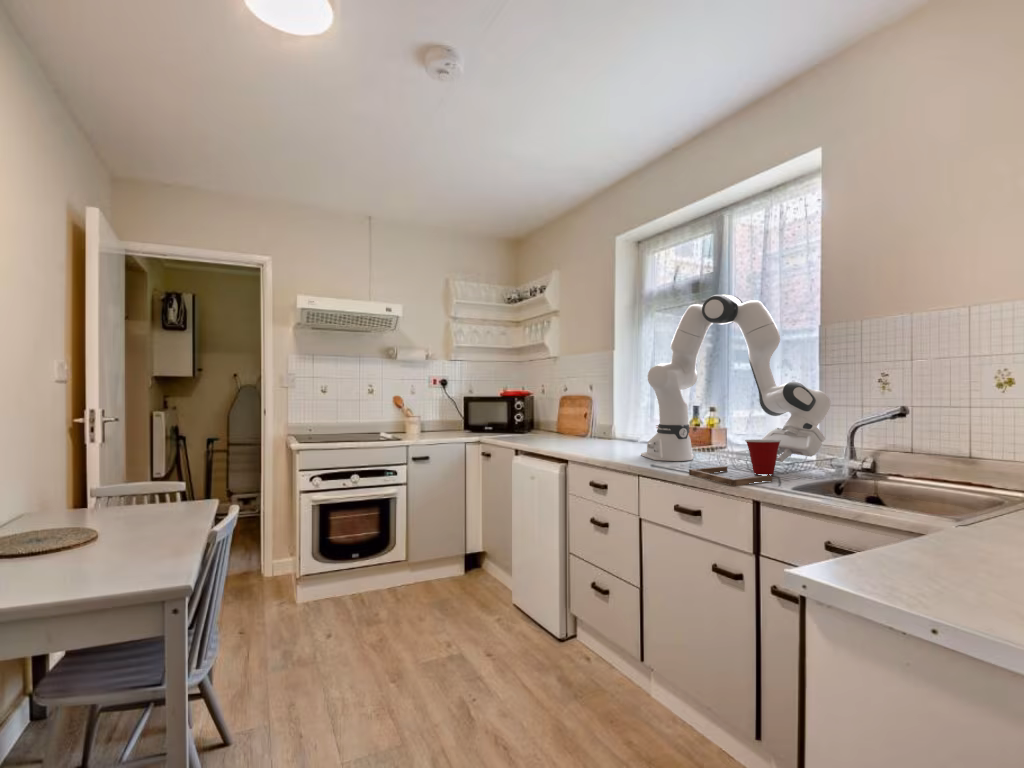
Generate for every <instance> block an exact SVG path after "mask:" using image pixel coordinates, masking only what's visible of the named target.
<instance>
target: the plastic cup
mask: <svg viewBox="0 0 1024 768" xmlns="http://www.w3.org/2000/svg"><path fill="white" fill-rule="evenodd" d="M744 441H745V443H746V445H747V449H748V453H749V457H750V461H751V466H752V471H753V474H754V473H756V474H768V475H769V474H773V475H774V473H775V467H776V463H777V461H776V458H777V452H778V447H779V444H780V442H781V440H761V439H745V440H744Z"/></svg>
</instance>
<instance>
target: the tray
mask: <svg viewBox="0 0 1024 768" xmlns="http://www.w3.org/2000/svg"><path fill="white" fill-rule="evenodd" d="M720 471H727V472H728V466H725V465H724V466H723V465H722V466H713V467H712V466H711V467H704V468H703V467H700V468H692V469H688V475H689V476H693V477H696V478H700V479H704V480H708V481H712V482H716V483H720V484H725V485H729V486H733V487H737V486H746V485H745V484H747V485H750V484H749V483H754V482H762V481H772V482H773V476H770V475H767V476H759V475H756V476H750V477H741V478H730V477H727V476H724V475H718V474H715V473H714V472H720ZM710 473H711V474H710Z"/></svg>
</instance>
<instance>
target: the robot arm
mask: <svg viewBox="0 0 1024 768" xmlns="http://www.w3.org/2000/svg"><path fill="white" fill-rule="evenodd" d="M733 323H734V324H736V325H737V326H738V328H739V330H740V331H741V334H742V336H743V338H744V341H745V344H746V347H747V352H748V361H749V362H748V363H749V365H750V369H751V372H752V375H753V378H754V380H755V385H756V388H757V390H758V391H757V392H758V397H759V398H758V399H759V400H758V401H759V405H760V408H761V409H762V410H763V411H764V412H765V413H766V414H767V415H769V416H773V417H779V416H781V415H784V414H786V413H788V412H789V414H790V416H789V418H788V420H787V421H786V423H784V425H783V427H781V428H780V427H776V428H773V429H771V430H769V431H767V433H765V435H764V436H763V437H762V439H761V438H760V440H781V442H780V444H779V447H778V452H777V458H776V462H780V463H783V462H784V461H785V460H786V459H788V458H789V457H790V456H791V455H798V456H805V457H814V456H815V455H816V454H817V453H818V452H819V450H820V449H821V446H822V443H823V442H825V440H826V436H825V435H824V434H823V433H822V432H821V430H820V429H819V427H818V426H819V424H821V423H822V422H823V420H824V419H825V418H826V416H827V415H828V413H829V411H830V408H831V404H832V403H831V399H830V397H829V395H827V394H826V392H824V391H822V390H819V389H810V388H809V387H807V386H805V385H803V384H802V383H800V382H799V381H798V382H797V381H789V382H786V383H784V384H783V383H782V384H780V385H779V386H778V385H777V383H776V381H775V379H774V375H773V373H772V370H771V366H770V362H771V358H772V356H773V355H774V353H775V351H776V350H777V349H778V346H779V344H780V343H781V335H780V332H779V329H778V327H777V324H776V323H775V321H774V319H773V317H772V315H771V313H770V312H769V311H768V309H767V307H766V306H765V305H764V304H763V302H761V301H760V300H754V299H753V300H747V301H745V302H743V301H742V300H741V299H740V298H739V297H737V296H735V295H732V294H727V293H726V294H724V293H722V294H714V295H711V296H709V297H708V298H706V299H705V301H704V302H703V304H691V305H689V306H688V307H687V308H686V310H685V312H684V314H683V315H682V317H681V319H680V321H679V323H678V325H677V328H676V330H675V333H674V335H673V338H672V340H671V343H670V349H671V352H672V353H671V360H670V362H665V363H664V362H662V363H658V364H656V365H654V366H652V367H651V368H650V369H649V370H648V372H647V381H648V384H649V386H650V387H652V389H653V390H654V393H655V395H656V398H657V402H658V414H659V424H658V425H655V428H656V433H655V435H654V436H652V437H651V438H650V439H649V440H648V441H647V444H646V451H645V452H641V453H640V454H641V456H643V457H644V458H647V459H650V460H654V461H668V462H683V461H684V462H685V461H686V462H687V461H692V460H693V459H694V457H695V454H693V449H692V442H691V441H692V440H691V437H690V435H689V433H690V424H689V407H688V403H687V402H686V401H685V400H684V397H683V394H682V391H683V390H688V389H689V388H691V387H693V386H694V385H695V384H696V383H697V380H698V372H697V370H696V369H697V368H696V366H697V361H698V360H697V359H698V356H699V352H700V350H701V347H702V345H703V342H704V340H705V337H706V335H707V333H708V330H709V329H710V327H711V326H712V325H714V324H715V325H727V324H733Z"/></svg>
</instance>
